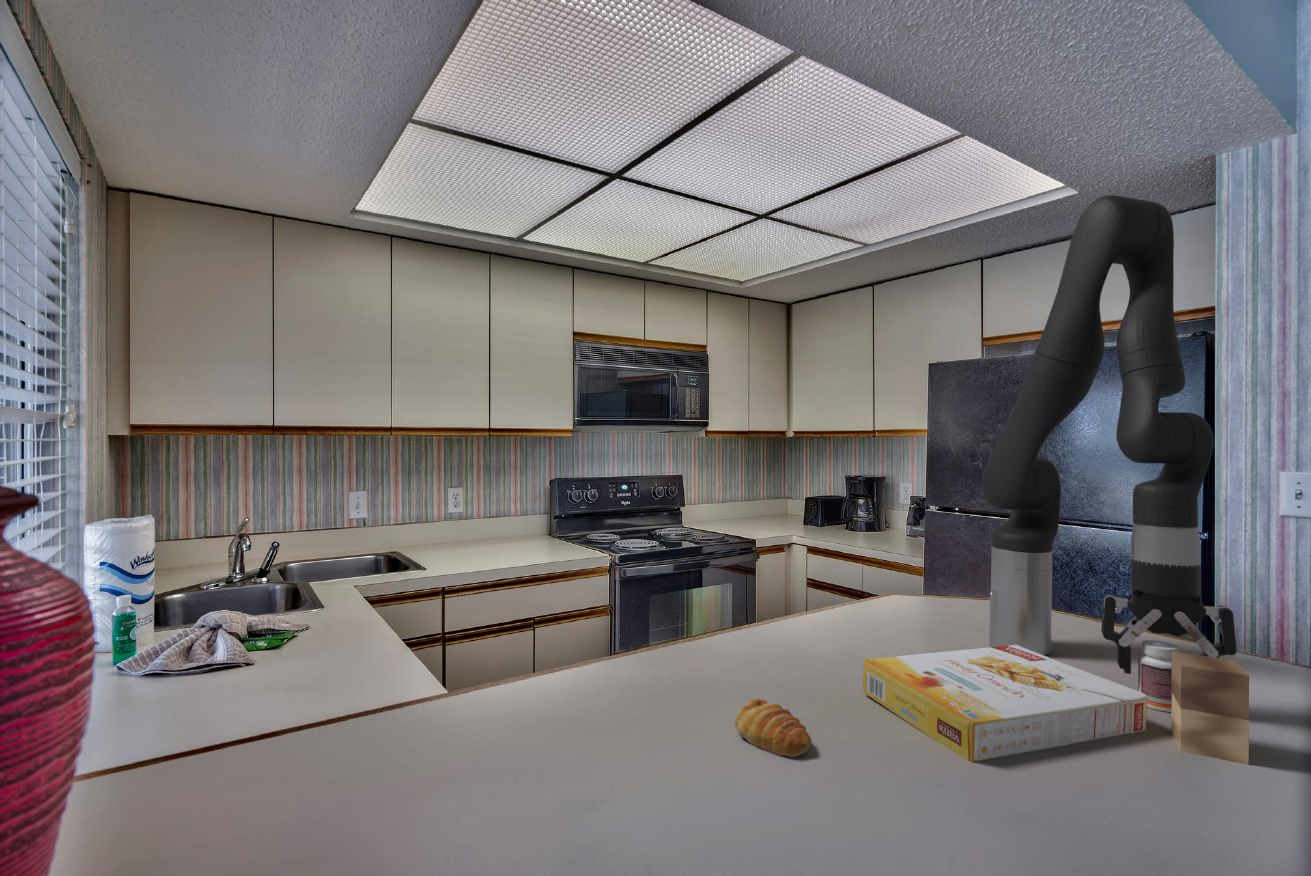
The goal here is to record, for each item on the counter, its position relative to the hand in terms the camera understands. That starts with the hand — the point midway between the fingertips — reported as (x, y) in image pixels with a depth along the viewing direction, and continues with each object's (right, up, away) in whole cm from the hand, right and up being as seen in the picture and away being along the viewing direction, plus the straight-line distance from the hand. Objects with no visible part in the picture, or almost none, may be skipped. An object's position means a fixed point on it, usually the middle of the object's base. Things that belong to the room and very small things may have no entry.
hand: (1165, 677), depth 89 cm
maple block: (-4, -4, -11) cm, 13 cm away
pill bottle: (0, -4, 0) cm, 4 cm away
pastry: (-55, -4, -10) cm, 56 cm away
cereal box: (-24, -4, -2) cm, 25 cm away
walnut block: (-4, +1, -11) cm, 12 cm away
